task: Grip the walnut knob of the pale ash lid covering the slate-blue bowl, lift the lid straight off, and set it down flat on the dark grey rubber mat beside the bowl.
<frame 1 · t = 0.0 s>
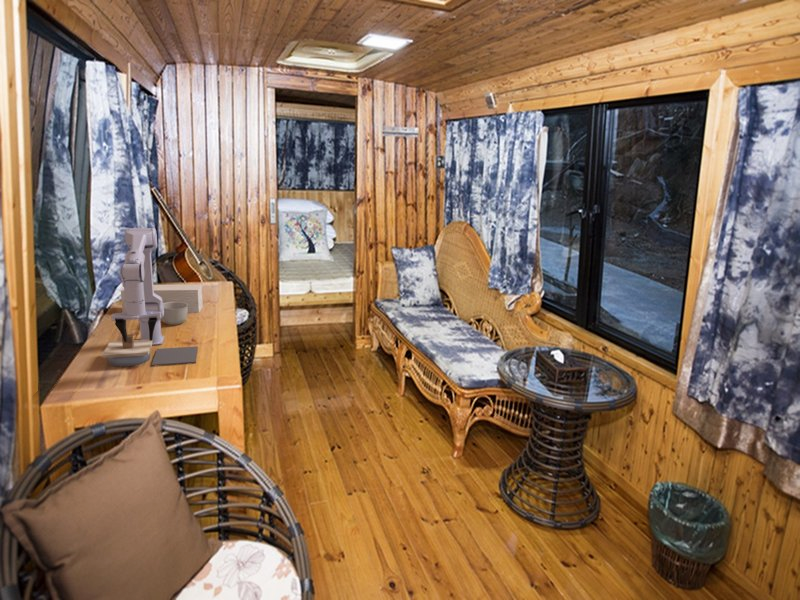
hand: (138, 340, 187), 10 cm above the table, tool pointing down, fingers open, 7 cm apart
stack of papers: (164, 310, 257), on the table
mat: (175, 356, 202), on the table
lid: (128, 349, 196), point 4 cm above the table, touching bowl
teacup: (171, 324, 238), on the table
bowl: (129, 359, 197), on the table
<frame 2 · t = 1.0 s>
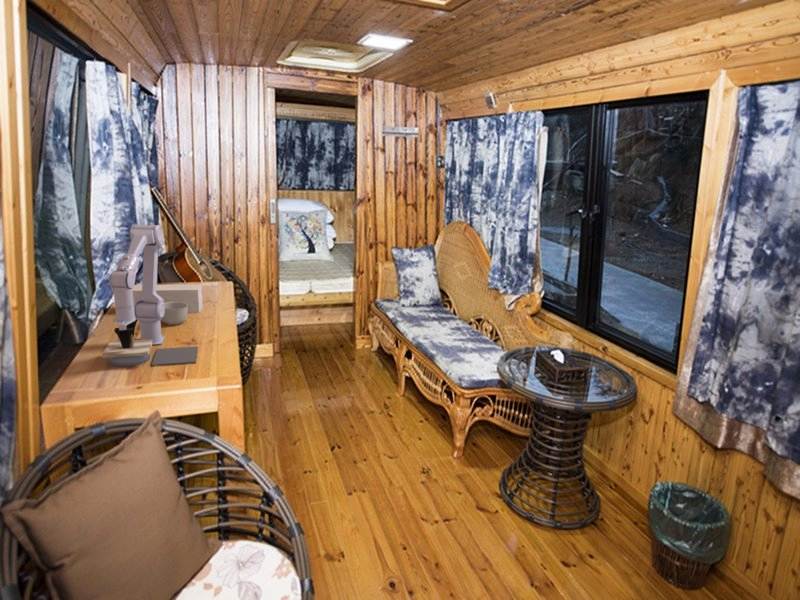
hand: (128, 344, 196), 6 cm above the table, tool pointing down, fingers open, 7 cm apart
nothing on the table moved.
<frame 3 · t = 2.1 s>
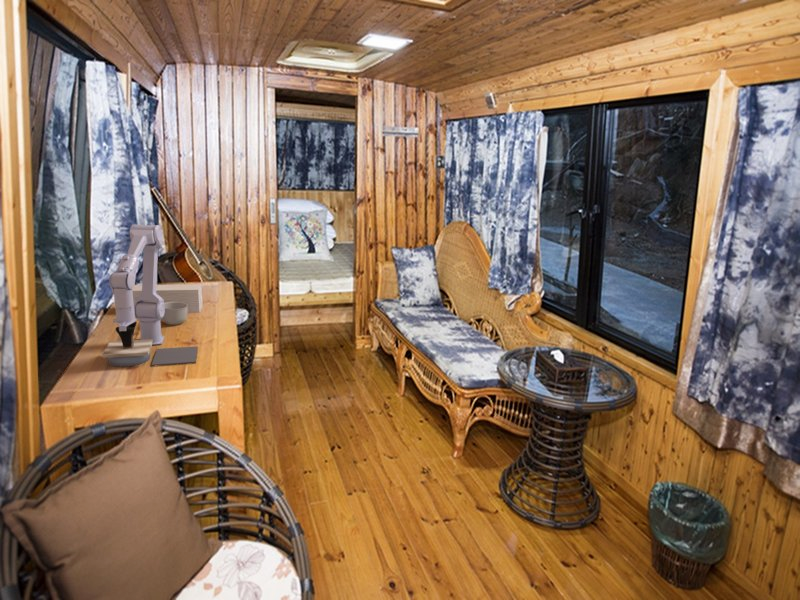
hand: (128, 344, 196), 5 cm above the table, tool pointing down, fingers closed on lid, 3 cm apart
lid: (128, 349, 196), point 4 cm above the table, touching bowl, gripper
everything else where it was.
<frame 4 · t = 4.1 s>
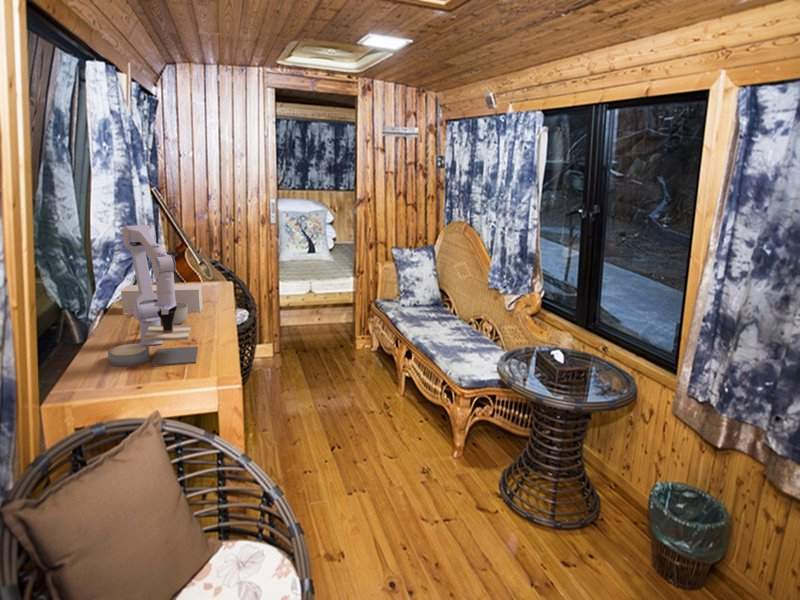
hand: (168, 328, 198), 10 cm above the table, tool pointing down, fingers closed on lid, 3 cm apart
lid: (168, 334, 199), point 9 cm above the table, touching gripper
everything else where it was.
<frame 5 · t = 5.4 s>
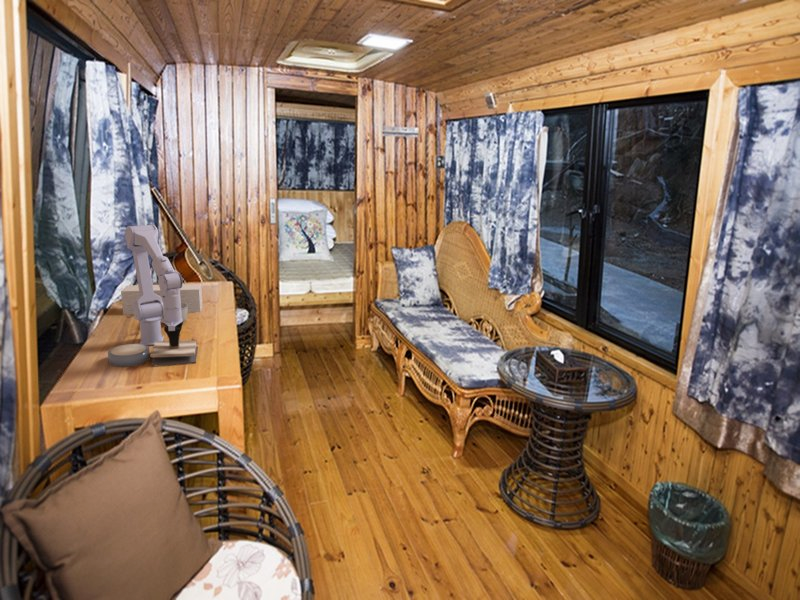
hand: (175, 344, 200), 5 cm above the table, tool pointing down, fingers closed on lid, 3 cm apart
lid: (174, 349, 201), point 3 cm above the table, touching gripper
everything else where it was.
when the fingers open (4 cm above the table, at t = 6.3 s): lid drops 1 cm, resting on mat.
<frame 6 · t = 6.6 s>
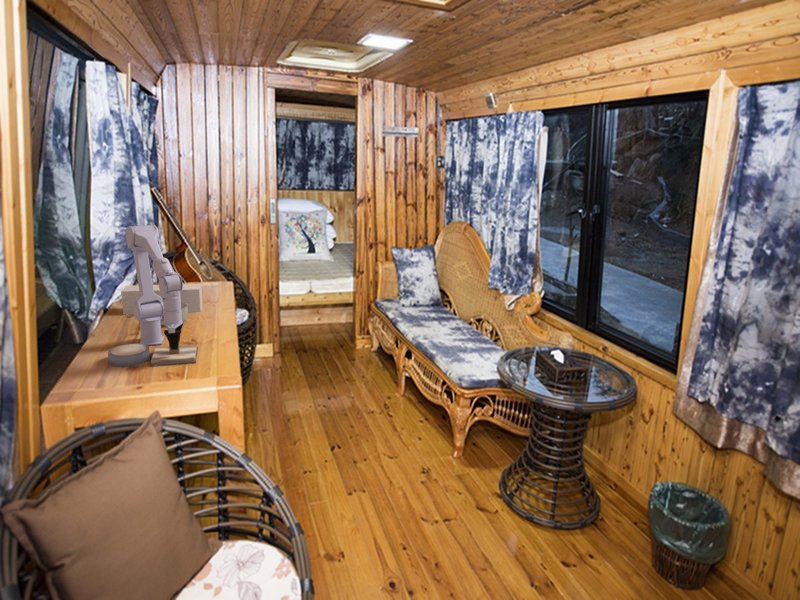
hand: (175, 346, 201), 4 cm above the table, tool pointing down, fingers open, 5 cm apart
lid: (174, 355, 201), point 1 cm above the table, touching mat
everything else where it was.
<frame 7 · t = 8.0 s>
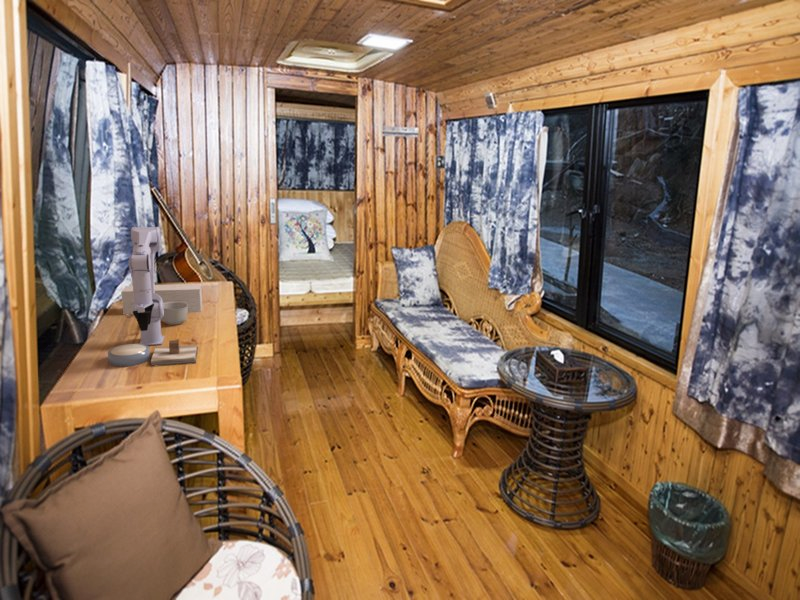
hand: (145, 327, 199), 10 cm above the table, tool pointing down, fingers open, 7 cm apart
nothing on the table moved.
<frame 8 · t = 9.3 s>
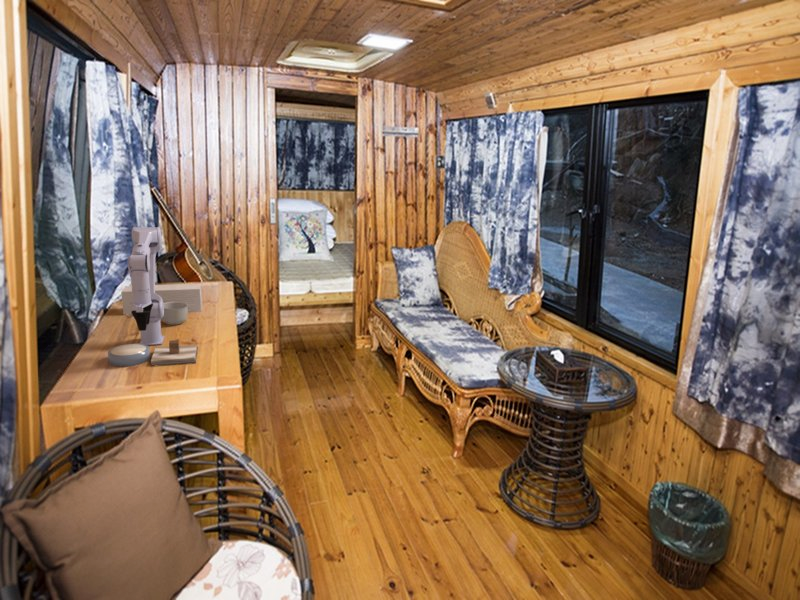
hand: (144, 327, 199), 10 cm above the table, tool pointing down, fingers open, 7 cm apart
nothing on the table moved.
at the end: lid inside the target area (0.3 cm from its centre), point 0.6 cm above the table; lid tilted 0°; lid touching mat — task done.
